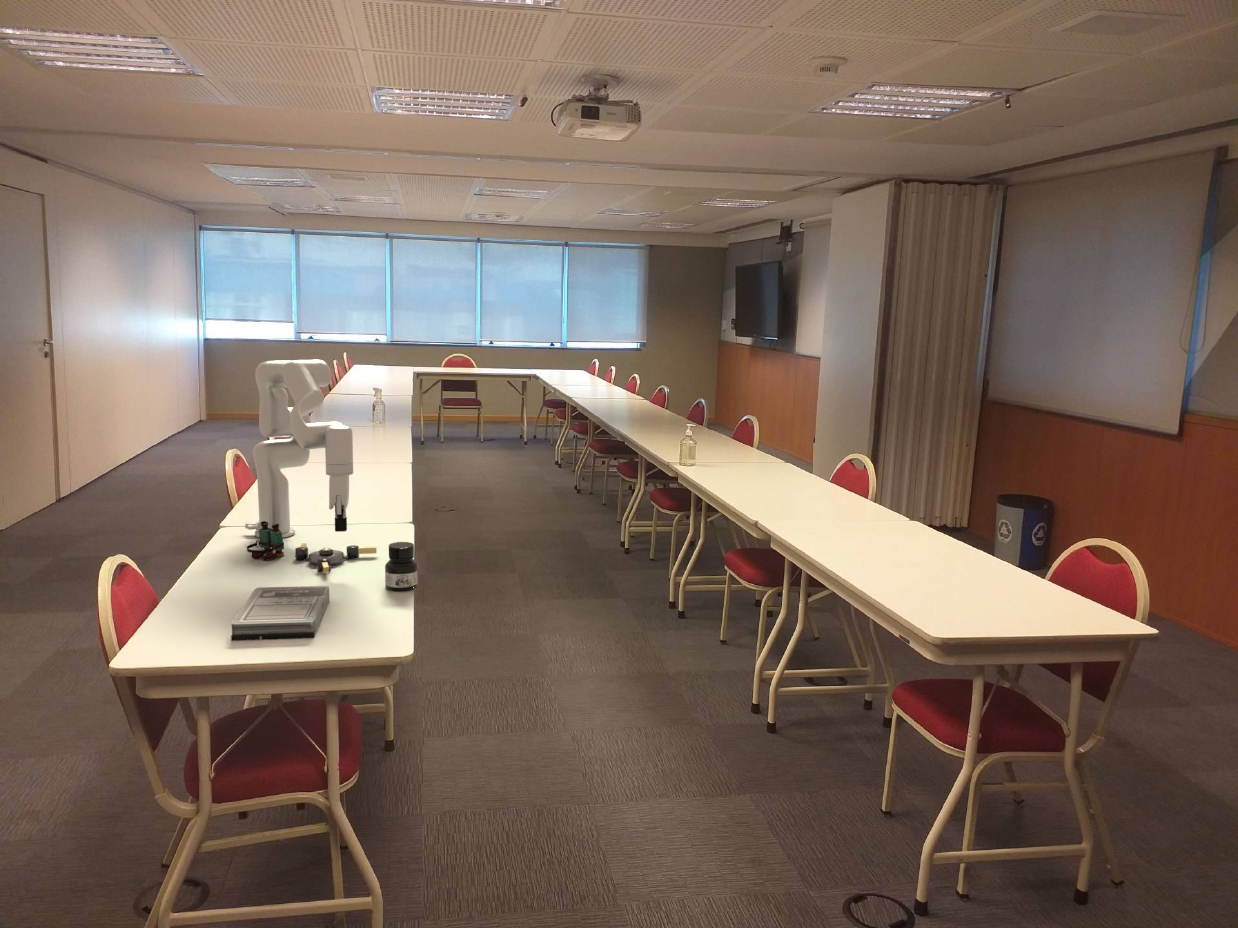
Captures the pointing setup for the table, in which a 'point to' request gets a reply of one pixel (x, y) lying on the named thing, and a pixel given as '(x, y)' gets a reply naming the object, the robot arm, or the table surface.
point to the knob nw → (301, 552)
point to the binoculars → (268, 543)
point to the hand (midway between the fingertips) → (341, 530)
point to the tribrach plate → (327, 556)
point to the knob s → (324, 565)
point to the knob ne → (359, 551)
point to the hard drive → (281, 613)
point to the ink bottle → (401, 567)
